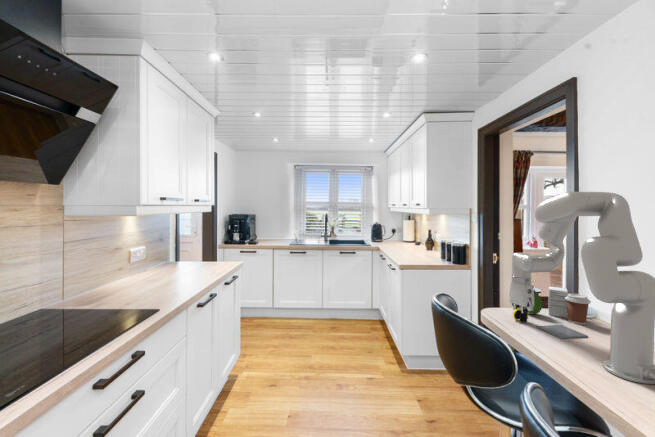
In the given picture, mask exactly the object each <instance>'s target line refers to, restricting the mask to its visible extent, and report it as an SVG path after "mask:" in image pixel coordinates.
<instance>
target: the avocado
mask: <svg viewBox="0 0 655 437" xmlns="http://www.w3.org/2000/svg"><path fill="white" fill-rule="evenodd" d="M533 290H534V307H533V310H532V311H529V313H528V315H536V314H539V313H541V311H542V309H543V301H542V298H541V297H540V295H539V293H538V292H537V291H536V290H535V289H533ZM524 309H525V308H524Z"/></svg>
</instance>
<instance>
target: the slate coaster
mask: <svg viewBox="0 0 655 437" xmlns="http://www.w3.org/2000/svg"><path fill="white" fill-rule="evenodd" d="M536 328H537V329H539V330H541V331H544V332H546V333H548V334H550V335H553V336H554V337H557V338H559V339H561V340H563V339H579V338H580V339H582V338H584V339H585V338H588V337H589V335H587V334H585V333H582V332H580V331H577V330H575V329H572V328H570V327H568V326H565V325H563V324H552V325H549V324H548V325H536Z"/></svg>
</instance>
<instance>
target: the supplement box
mask: <svg viewBox="0 0 655 437" xmlns="http://www.w3.org/2000/svg"><path fill="white" fill-rule="evenodd" d="M568 294H569V292H568V288H565V287H558V286H557V287H556V286H548V316H554V317H560V318H566V319H568V313H567V300H565V297H567V296H568Z"/></svg>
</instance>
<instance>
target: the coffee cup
mask: <svg viewBox="0 0 655 437" xmlns="http://www.w3.org/2000/svg"><path fill="white" fill-rule="evenodd" d="M565 300H567V321H568V322H569V323H571V324H572V323H573V324H576V325H577V324H578V325H587V319H588V312H589V304H591V302H592V301H591V300H590V299H589V298H588V296H587V295H584V294H580V293H568V296H567V297H565Z"/></svg>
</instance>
